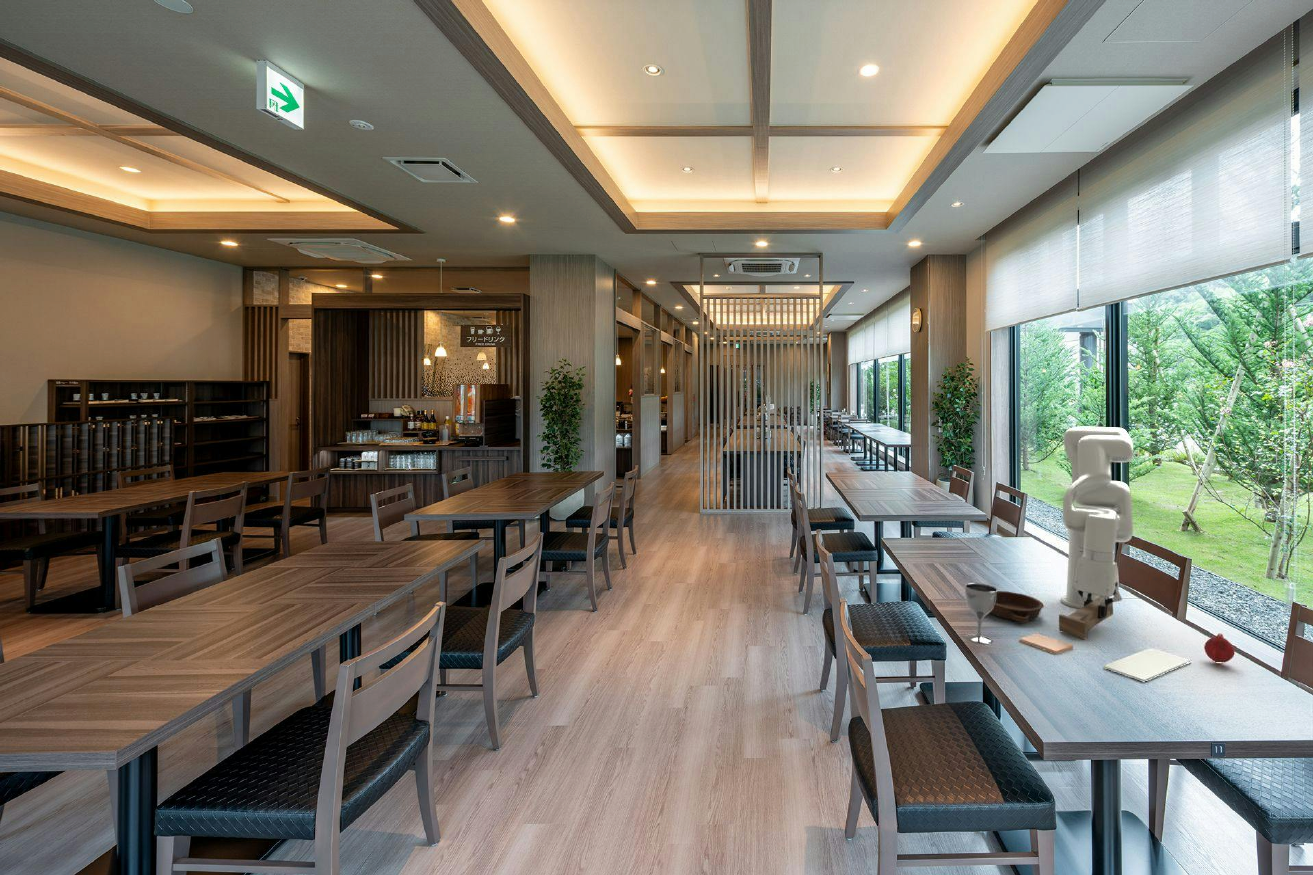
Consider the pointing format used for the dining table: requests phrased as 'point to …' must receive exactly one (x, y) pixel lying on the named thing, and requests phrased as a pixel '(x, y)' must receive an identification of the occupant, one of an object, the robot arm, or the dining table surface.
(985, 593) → the wine glass
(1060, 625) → the brown wooden brick
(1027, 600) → the dish
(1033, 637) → the wooden picture frame
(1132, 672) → the board
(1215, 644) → the onion
